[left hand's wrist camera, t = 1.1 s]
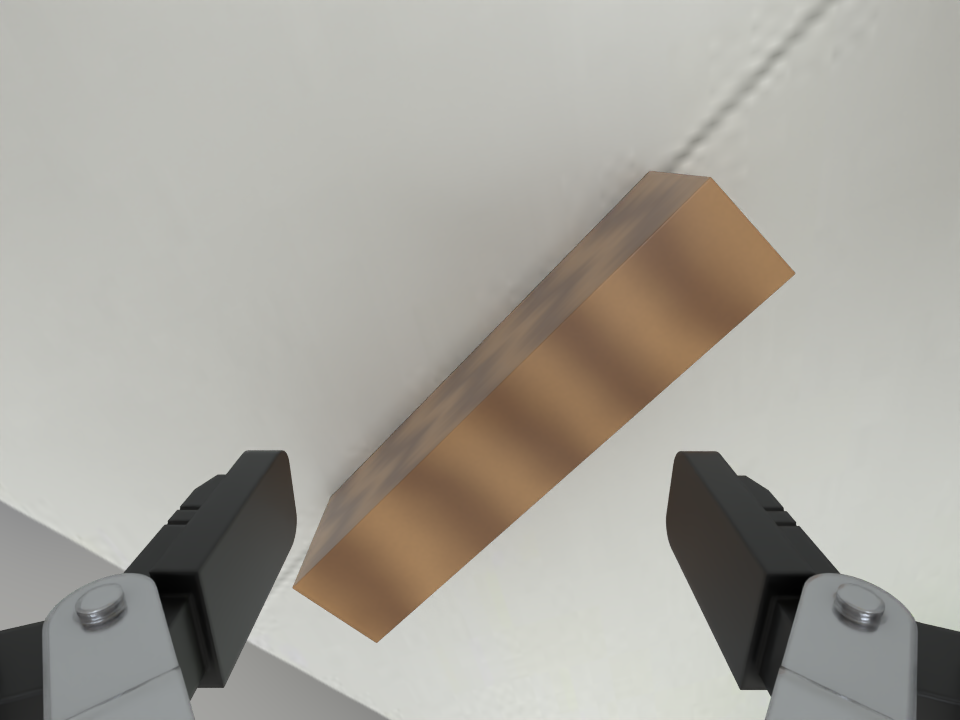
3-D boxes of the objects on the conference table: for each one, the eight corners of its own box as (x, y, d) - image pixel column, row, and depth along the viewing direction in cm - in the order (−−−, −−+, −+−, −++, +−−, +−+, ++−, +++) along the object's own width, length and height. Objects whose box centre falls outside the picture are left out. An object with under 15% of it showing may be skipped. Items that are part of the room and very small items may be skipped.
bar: (396, 545, 38) (376, 643, 30) (329, 497, 36) (291, 588, 29) (716, 244, 31) (796, 273, 23) (649, 170, 29) (711, 176, 22)
